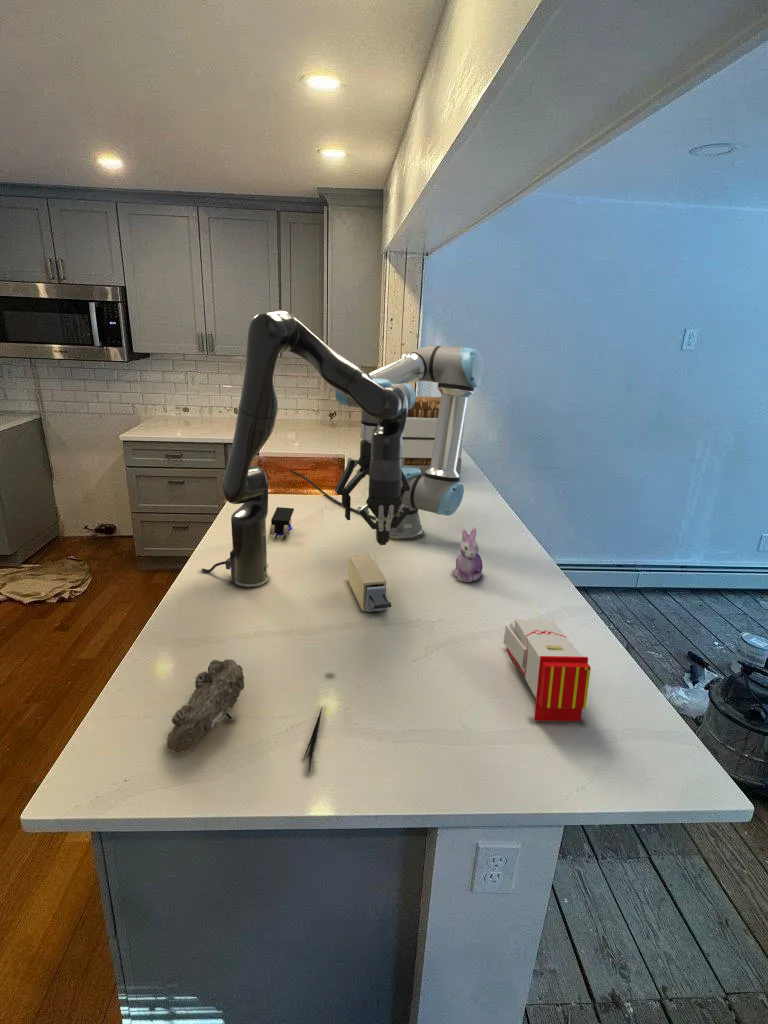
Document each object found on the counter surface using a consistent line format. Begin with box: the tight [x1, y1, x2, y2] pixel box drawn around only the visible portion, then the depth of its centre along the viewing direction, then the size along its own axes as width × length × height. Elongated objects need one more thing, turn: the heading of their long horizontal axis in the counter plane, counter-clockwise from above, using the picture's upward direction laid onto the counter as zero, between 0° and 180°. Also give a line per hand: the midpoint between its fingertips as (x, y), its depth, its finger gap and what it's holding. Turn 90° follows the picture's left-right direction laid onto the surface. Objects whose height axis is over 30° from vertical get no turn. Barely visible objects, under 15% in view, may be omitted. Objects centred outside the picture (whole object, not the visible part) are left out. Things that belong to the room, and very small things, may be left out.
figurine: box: [454, 527, 484, 583], centre depth 168 cm, size 9×10×15 cm
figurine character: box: [269, 506, 295, 540], centre depth 194 cm, size 7×8×15 cm
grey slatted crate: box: [402, 395, 465, 482], centre depth 268 cm, size 34×33×41 cm
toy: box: [503, 618, 592, 722], centre depth 122 cm, size 12×13×30 cm
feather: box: [301, 673, 332, 771], centre depth 108 cm, size 2×28×2 cm
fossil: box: [166, 658, 245, 754], centre depth 106 cm, size 22×10×15 cm
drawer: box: [365, 584, 392, 613], centre depth 150 cm, size 22×5×6 cm, turn 16°
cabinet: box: [347, 553, 387, 612], centre depth 155 cm, size 17×6×8 cm, turn 16°
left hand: (382, 543), depth 137 cm, fingers closed
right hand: (371, 517), depth 154 cm, fingers open, 13 cm apart
